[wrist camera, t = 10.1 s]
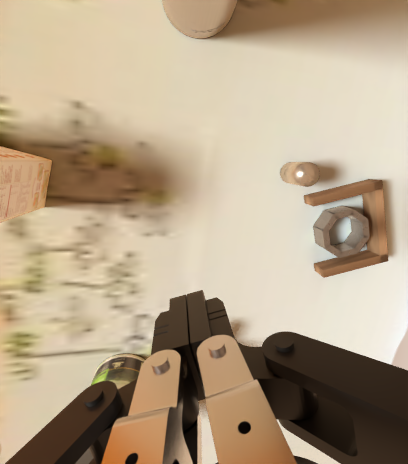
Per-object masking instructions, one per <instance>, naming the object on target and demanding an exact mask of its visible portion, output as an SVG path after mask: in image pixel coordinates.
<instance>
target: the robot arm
mask: <svg viewBox="0 0 408 464" xmlns="http://www.w3.org/2000/svg"><path fill="white" fill-rule="evenodd" d="M237 1H238V0H162V2H163V6H164V10H165V12H166V15H167V17H168V18H169V20H170V21H171V23H172V24H173V25H174V26H175V27H176V28H177V29H178V30H179V31H180V32H182V33H183V34H185V35H187V36H190V37H192V38H208V37H211V36H213V35H215V34H217V33H218V32H220V31H221V30H222V29H223V28H224V27H225V26H226V25H227V23H228V22H229V20H230V19H231V16H232V14H233V11H234V9H235V6H236V3H237ZM154 329H155V330H154V336H153V344H152V351H151V356H150V357H148V358H147V359H146V360H145V361H144V363H143V364H142V366H141V369H140V372H139V376H138V378H137V379H135V380H134V381H132V382H130V383H129V384H127V385H125V386H123V387H121V388H119V389H117V386H116V384H115V383H114V382H112V381H101V382H98V383H95V384H93V385H91V386H90V387H88V388H87V389H85V390H84V391H83V392H82V393H81V394H80V395H78V396H77V397H76V398H75V399H74V400H73V401H72V402H71V403H70V404H69V405H68V406H67V407H66V408H64V409H63V410H62V411H61V412H60V413H59V414H58V415H57V416H56V417H55V418H54V419H53V420H52V421H50V422H49V423H48V424H47V425H46V426H45V427H44V428H43V429H42V430H41V431H40V432H39V433H38V434H36V435H35V436H34V437H33V438H32V439H31V440H30V441H29V442H28V443H27V444H26V445H25V446H24V447H23V448H21V449H20V450H19V451H18V452H17V453H16V454H15V455H14V456H13V457H12V458H11V459H10V460H9V461H7V462H6V463H5V464H75V463H76V462H77V461H78V460H79V459H80V457H81V456H82V455H83V454H84V453H85V452H86V451H87V450H88V448H89V450H90V452H91V454H92V456H93V459H92V460H91V462H90V463H89V464H202V442H201V418H200V415H199V402H198V401H199V400H203V399H205V402H206V407H207V411H208V416H209V421H210V426H211V430H212V435H213V440H214V445H215V449H216V454H217V459H218V463H216V464H317V463H315V462H313V461H310V460H308V459H305V458H302V457H298V456H293V454H292V452H291V450H290V448H289V446H288V444H287V441H286V439H285V437H284V435H283V433H282V431H281V429H280V427H279V424H278V422H277V420H276V419H279V422H280V423H281V425H282V426H283V427H284V428H285V429H287V430H288V431H290V432H291V433H293V434H294V435H296V436H298V437H299V438H301V439H302V440H304V441H305V442H307V443H309V444H310V445H312V446H313V447H315V448H317V449H318V450H320V451H321V452H323V453H325V454H326V455H328V456H329V457H331V458H333V459H334V460H336V461H337V462H339V463H341V464H408V371H407V370H405V369H402V368H399V367H396V366H393V365H390V364H387V363H384V362H381V361H378V360H375V359H372V358H369V357H366V356H363V355H360V354H357V353H354V352H351V351H348V350H345V349H342V348H339V347H336V346H333V345H330V344H327V343H324V342H321V341H318V340H315V339H312V338H309V337H306V336H303V335H300V334H297V333H293V332H278V333H275V334H273V335H271V336H269V337H268V338H267V339H266V340H265V341H264V342H263V345H262V347H248V346H244V345H242V344H240V343H238V342H237V341H236V340H235V338H234V335H233V332H232V329H231V326H230V322H229V319H228V316H227V313H226V310H225V307H224V304H223V302H222V301H221V300H219V299H218V298H213V299H209V300H205V296H204V293H203V290H201V291H197V292H193V293H190V294H187V296H186V295H183V296H179V297H175V298H172V299H170V308H169V311H166V312H162V313H161V314H160V315H159V316H158V318H157V319H156V321H155V328H154ZM205 394H206V397H205Z"/></svg>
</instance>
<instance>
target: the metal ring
mask: <svg viewBox="0 0 408 464" xmlns="http://www.w3.org/2000/svg"><path fill="white" fill-rule="evenodd" d="M343 217H348V218H350V220H351V230H352V232H351V233H350V235H349V236H348V237H347V239H346V240H345V241H344V243H341V244H337V245H333V246H332V245H330V237H329V230H330V229H331V227H332V226H333V225H334V223H335V222H336V220H337V219H339V218H343ZM313 229H314V236H315V243H316V244H318V245H319V246H321V247H323V248H324V249H326V250H327V251H329V252H330V253H332V254H334V255H336V256H337V257H340V258H341V257H345V256H349V255H353V254H357V253H358V252H359V251H360V250H361V248H362V247H363V246H364V244H365V243H366V242H367V240H368V239H369V237H370V235H369V223H368V218H366V217H365V216H363V215H362V214H360V213H359V212H357V211H356V210H355V209H352V208H348V207H344V206H339V207H335V208H331V209H326V210H325V211H323V212H322V214H321V215H320V217H319V218H318V219H317V221H316V222H315V224H314V226H313Z"/></svg>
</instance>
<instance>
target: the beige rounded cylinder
mask: <svg viewBox="0 0 408 464" xmlns="http://www.w3.org/2000/svg"><path fill="white" fill-rule="evenodd" d="M280 176H281V178H282V180H283V181H284V182H286V183H290V184H295V185H300V186H305V187H309V186H312V185H314V184H315V183H316V182H317V181H318V179H319V176H320V171H319V168H318V167H317V165H315V164H314V163H310V162H289V163H286V164H285V165H284V166H283V167H282V168H281V171H280Z"/></svg>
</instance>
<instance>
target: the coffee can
mask: <svg viewBox="0 0 408 464" xmlns="http://www.w3.org/2000/svg"><path fill="white" fill-rule="evenodd" d="M144 361H145V359H143V358H141V357H139V356H136V355H132V354H119V355H115V356H112V357H110V358H108V359H106V360H105V361H103V362H102V363H101V364H100V365H99V367H98V368H97V370H96V372H95V376H94V379H93V381H92V384H91V385H93V384H95V383H98V382H101V381H112V382H114V383H115V384H116V386H117V389H119V388H121V387H123V386H125V385H127V384H129V383H130V382H132V381H134V380H135V379H137V378H138V376H139V372H140V369H141V366H142V364H143V363H144ZM92 459H93V456H92V454H91V452H90V450H89V448H88V450H87V451H86V452H85V453H84V454H83V455H82V456H81V457H80V459H79V460H78V461H77V462H76V463H75V464H89V463H90V462H91V460H92Z"/></svg>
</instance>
